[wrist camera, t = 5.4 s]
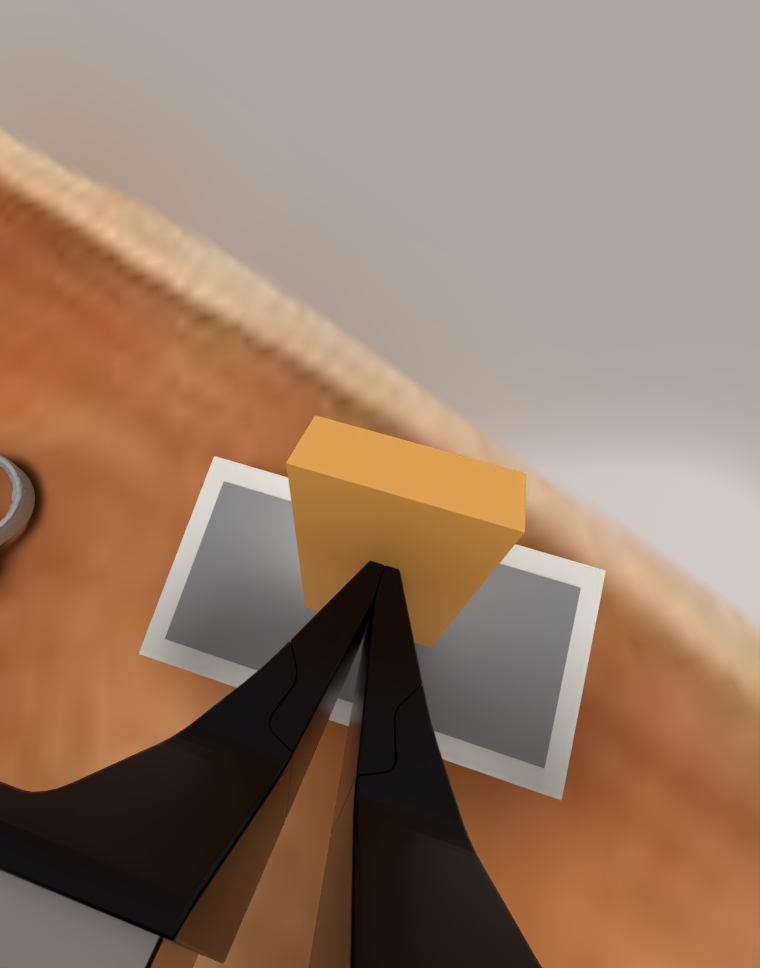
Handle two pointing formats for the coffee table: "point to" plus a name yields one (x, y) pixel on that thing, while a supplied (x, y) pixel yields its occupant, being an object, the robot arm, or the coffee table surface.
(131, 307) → the coffee table surface
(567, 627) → the breaker housing
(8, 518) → the ceramic mug
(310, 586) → the lever
